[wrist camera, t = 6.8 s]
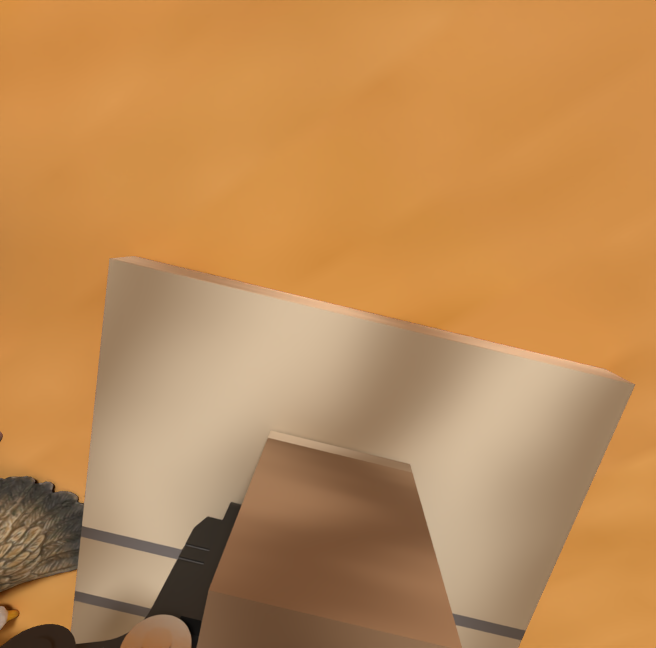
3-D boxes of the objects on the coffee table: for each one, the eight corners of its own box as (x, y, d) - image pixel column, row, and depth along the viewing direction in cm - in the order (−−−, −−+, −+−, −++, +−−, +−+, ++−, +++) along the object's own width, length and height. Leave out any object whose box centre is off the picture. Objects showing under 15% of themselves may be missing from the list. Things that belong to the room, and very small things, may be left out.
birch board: (605, 369, 11) (635, 384, 10) (400, 854, 16) (404, 903, 15) (134, 255, 11) (109, 258, 10) (72, 779, 16) (51, 821, 15)
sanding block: (410, 464, 11) (463, 650, 6) (348, 653, 12) (350, 924, 7) (270, 430, 11) (208, 589, 6) (226, 624, 12) (148, 878, 7)
